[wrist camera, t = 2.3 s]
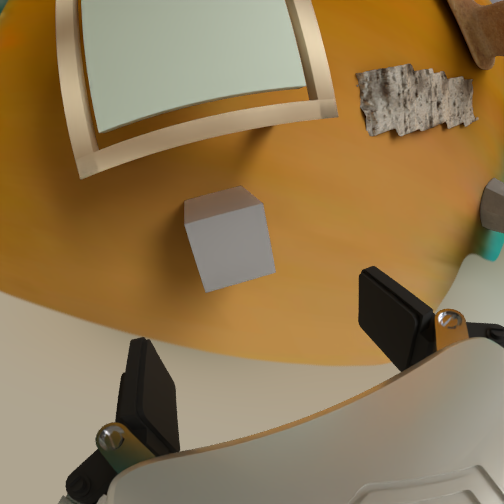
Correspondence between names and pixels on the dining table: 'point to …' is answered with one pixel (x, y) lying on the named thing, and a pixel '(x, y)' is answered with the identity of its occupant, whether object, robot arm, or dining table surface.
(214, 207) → the granite block
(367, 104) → the stone fragment
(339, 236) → the dining table surface
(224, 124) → the trapdoor frame
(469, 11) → the stone cup
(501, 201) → the coffeepot
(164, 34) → the trapdoor
